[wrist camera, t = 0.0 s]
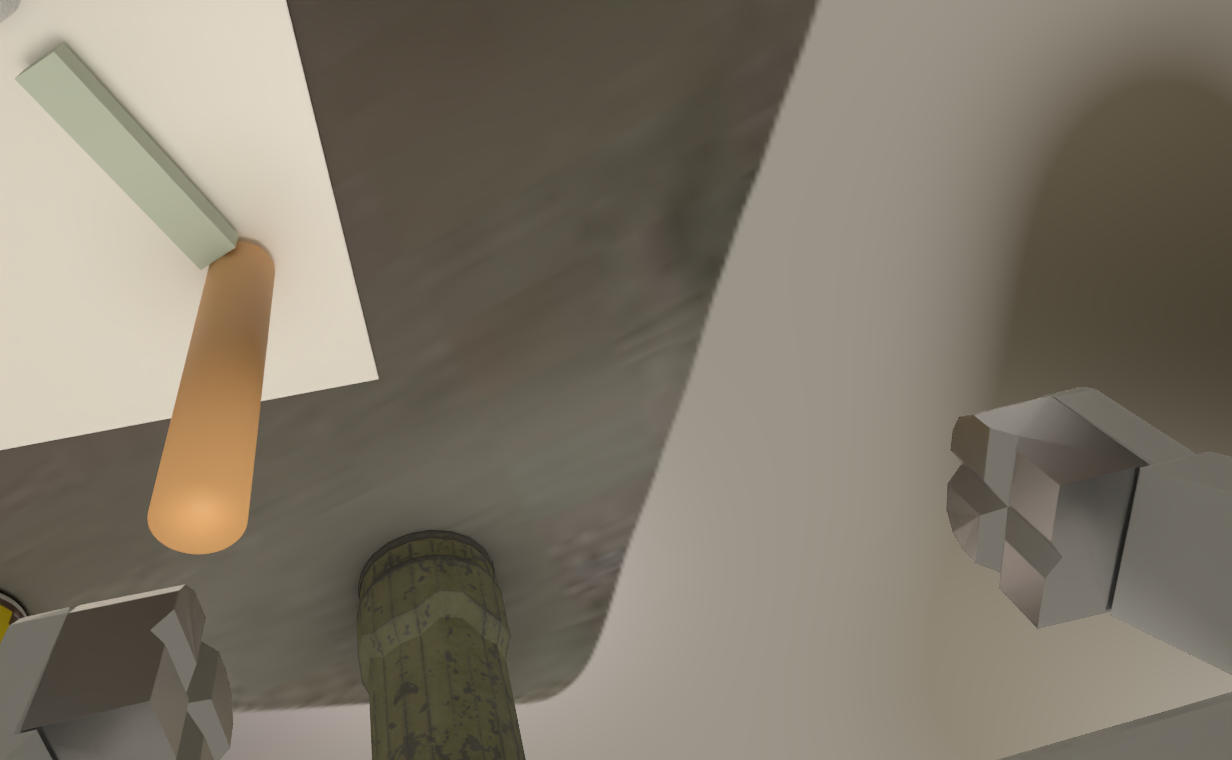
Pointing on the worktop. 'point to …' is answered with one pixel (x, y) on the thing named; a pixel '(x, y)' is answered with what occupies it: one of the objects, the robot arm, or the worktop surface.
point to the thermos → (436, 652)
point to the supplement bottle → (9, 613)
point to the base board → (132, 243)
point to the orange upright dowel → (225, 323)
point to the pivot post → (8, 8)
